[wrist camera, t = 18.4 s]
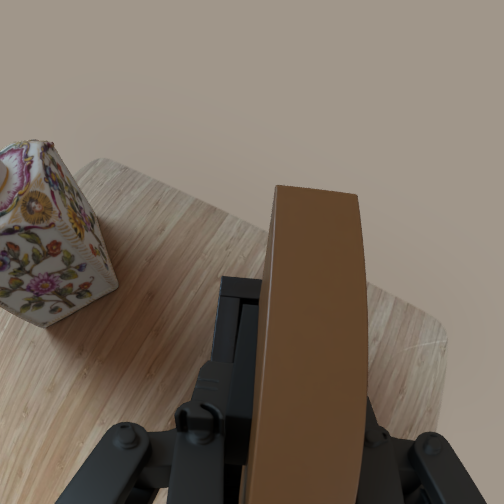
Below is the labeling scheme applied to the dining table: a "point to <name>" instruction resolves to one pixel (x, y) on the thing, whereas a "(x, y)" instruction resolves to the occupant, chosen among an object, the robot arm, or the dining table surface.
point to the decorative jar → (47, 238)
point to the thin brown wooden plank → (310, 354)
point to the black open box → (232, 349)
